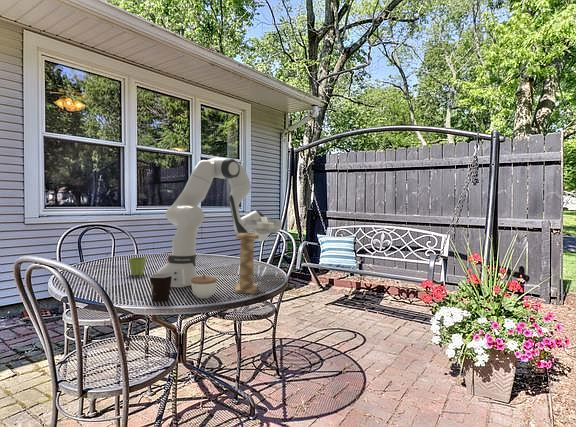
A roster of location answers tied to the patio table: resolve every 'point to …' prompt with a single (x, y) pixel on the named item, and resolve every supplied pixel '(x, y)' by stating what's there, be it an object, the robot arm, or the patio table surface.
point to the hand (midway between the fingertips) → (264, 219)
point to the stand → (246, 263)
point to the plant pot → (137, 266)
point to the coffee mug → (160, 286)
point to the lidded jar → (203, 286)
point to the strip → (265, 224)
